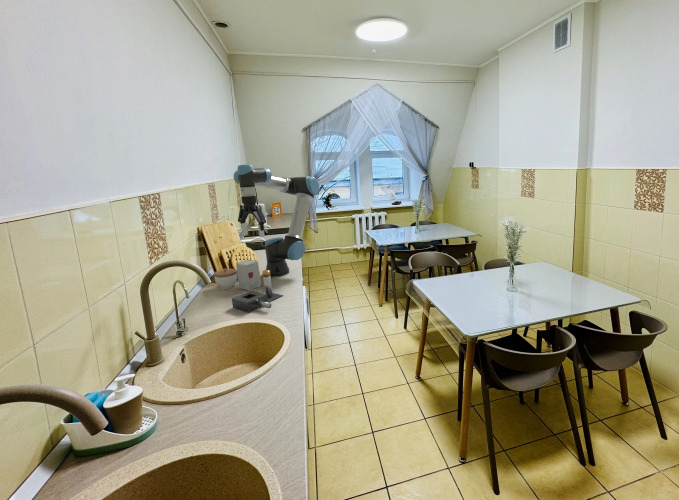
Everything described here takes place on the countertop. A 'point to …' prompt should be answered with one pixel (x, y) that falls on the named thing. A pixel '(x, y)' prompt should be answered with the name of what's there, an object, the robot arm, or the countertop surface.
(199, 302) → the countertop surface
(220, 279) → the lidded bowl
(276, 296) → the mat
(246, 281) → the supplement box
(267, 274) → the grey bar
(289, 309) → the countertop surface
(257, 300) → the block
